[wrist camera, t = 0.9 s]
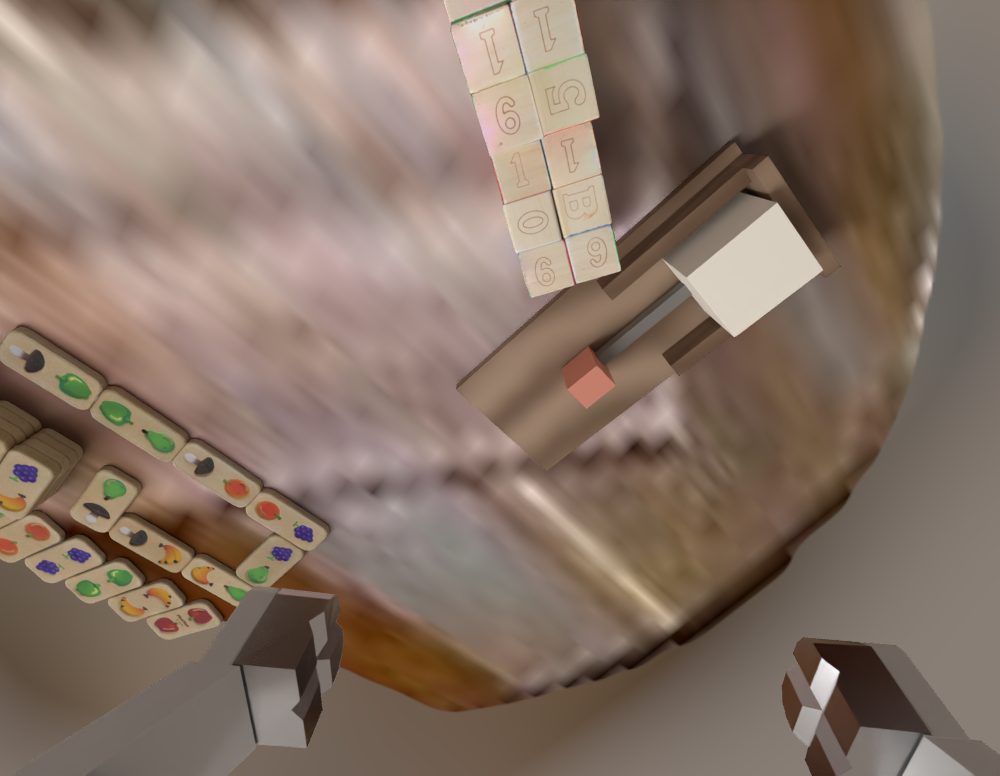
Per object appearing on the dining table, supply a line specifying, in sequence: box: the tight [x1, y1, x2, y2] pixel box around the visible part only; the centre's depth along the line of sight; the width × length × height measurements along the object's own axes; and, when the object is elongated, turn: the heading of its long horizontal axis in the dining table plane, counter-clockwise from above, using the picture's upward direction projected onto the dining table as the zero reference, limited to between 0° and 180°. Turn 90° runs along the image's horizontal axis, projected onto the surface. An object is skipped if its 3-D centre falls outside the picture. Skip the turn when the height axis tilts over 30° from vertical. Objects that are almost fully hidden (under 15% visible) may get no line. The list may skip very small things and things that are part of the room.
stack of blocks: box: [443, 0, 621, 298], centre depth 32 cm, size 21×6×12 cm, turn 16°
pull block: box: [562, 192, 823, 409], centre depth 40 cm, size 6×19×6 cm, turn 134°
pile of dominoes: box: [0, 327, 330, 639], centre depth 51 cm, size 35×27×6 cm
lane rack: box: [456, 142, 841, 470], centre depth 43 cm, size 12×28×5 cm, turn 134°
